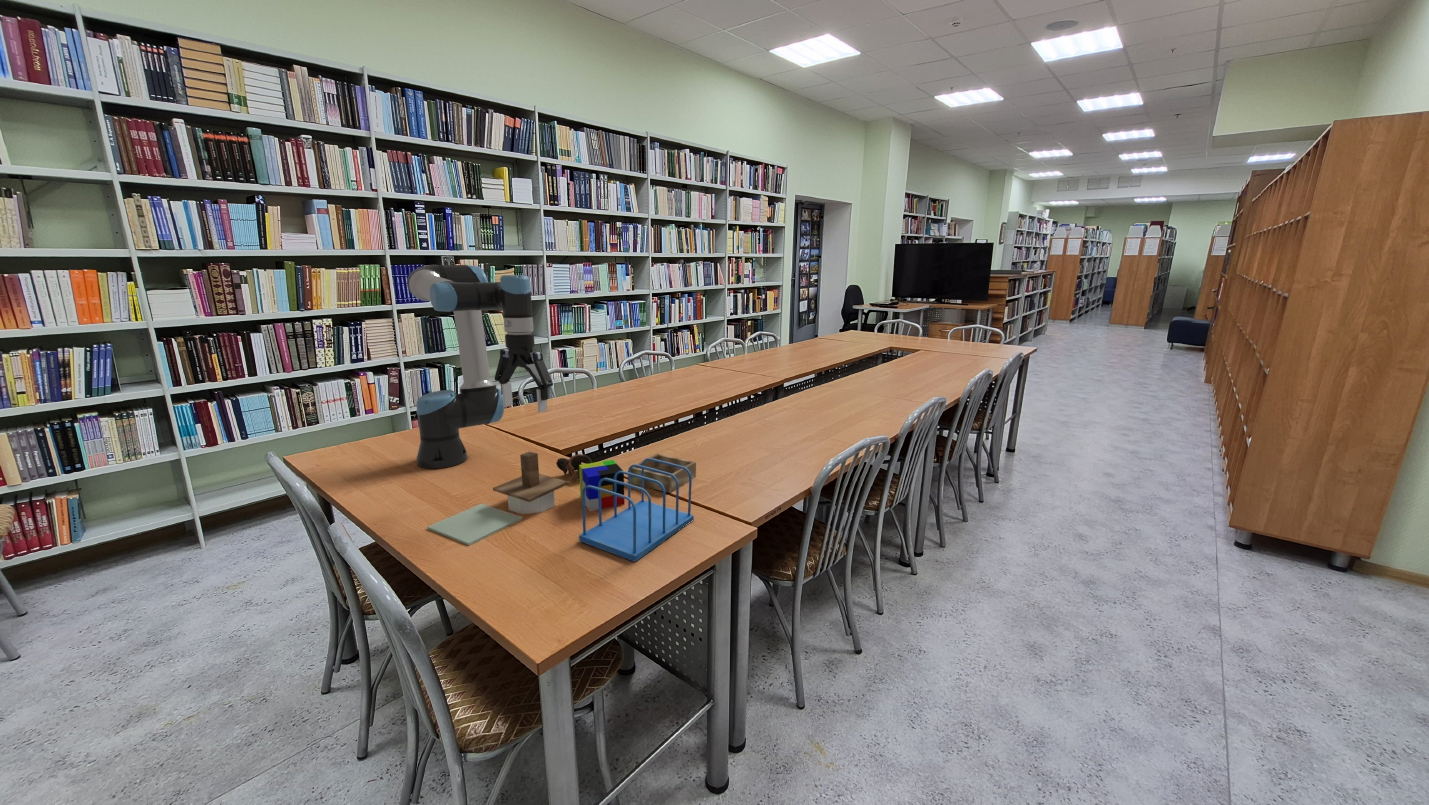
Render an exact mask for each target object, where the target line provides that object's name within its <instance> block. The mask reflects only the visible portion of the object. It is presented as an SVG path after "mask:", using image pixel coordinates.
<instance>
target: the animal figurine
mask: <svg viewBox="0 0 1429 805" xmlns="http://www.w3.org/2000/svg"><path fill="white" fill-rule="evenodd" d="M585 460H587V461H588V464H589V463H593V460H592V458H591V457H590V456H588V455H586V454H583V453H582V454H581V453H580V454H579V453H578V454H574V455H572V456H571V457H570V458H568V459H567V458H565V457H561V458H558V459H557V460H556V464H555V465H556V467H557V468H558V469H559V470H561V472H563V474H564V475H567V473H568V474H571V477H570V480H571V482H574V483H576V482H577V481H578V480H579V481H580V475H579V465H582V464H583V463H582V462H583V461H585Z"/></svg>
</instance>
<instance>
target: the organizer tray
mask: <svg viewBox="0 0 1429 805" xmlns="http://www.w3.org/2000/svg"><path fill="white" fill-rule="evenodd" d="M648 458H652V459H657V460H661V461H665V462H669V463H673V464H676V465H680V466H684V467H686V468H687V469H688V470H689V471H690V473H691V476H692V480H693V479H695V478H696V477H697V462H696V461H691V460H689V459H684V458H683V459H682V458H678V457H674V456H669V455H666V454H660V453H656V454H654V455H651V456H650V457H648ZM644 460H645V459H643V460H641V461H639V462H638V463H636V464H637V465H641V466H642V462H643V461H644ZM644 466H645V467H649V468H653V469H657V470H661V471H664V472H668V473H671V474H673V475H674V476H675V477H676V478H677V480H678V483H679V488H680V487H682V486H683V485H685V484H687V483H689V474H688V472H687V471H686V470H684V469H682V468H678V467H675V466H671V465H667V464H663V463H659V462H655V461H651V460H647V461H645V463H644ZM630 473H633V474H636V475H640V476H642V468H639V467H632V468H631V470H630ZM644 477H647V478H651V479H654V480H657V481H659V482H661V483H662V484H663V486H664V488H665V491H666V494H667V493H668V494H670V493H673V492H674V491H676V482H675V480H674V478H673V477H671V476H669V475H666V474H662V473H659V472H655V471H651V470H647V469H644ZM630 484H632V485H636V486H641V487H642V479H641V478H638V477H634V476H630ZM644 488H649V489H652V490H657V491H660V492H663V490H662V487H661V486H660V485H659V484H657V483H655V482H652V481H648V480H645V479H644Z"/></svg>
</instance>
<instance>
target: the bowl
mask: <svg viewBox="0 0 1429 805" xmlns="http://www.w3.org/2000/svg"><path fill="white" fill-rule="evenodd" d="M555 496H556V495H555V491H552V492H550V493H548V494H546V495H544V496H542V497H540V498H537V499H535V500H533V501H531V502H527V501H524V500H521V499H518V498H515V497H512V496H508V495H507V502H508V503H507V504H508V511H511V512H513V513H517V514H520V515H528V514H536V513H537V514H538V513H539V514H540V513H543V512H544V511H546V510H548V509H551V508H553V507H555V504H556V503H555V502H556V501H555V500H556V499H555Z"/></svg>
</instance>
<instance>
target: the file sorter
mask: <svg viewBox="0 0 1429 805" xmlns="http://www.w3.org/2000/svg"><path fill="white" fill-rule="evenodd" d="M643 460H644V461H643ZM643 460H642V461H643V462H642V466H641V465H637V463H635V464H634V463H633V464H632V465H630V466H629V467H628V469H627V471H624V470H623V471H618V472H617V473H616V474H615V476H614V480H613V479H609V478H603V479H601V480H600V481H599V484H598V487H595V486H591V485H589V486H586V487H584V489H583V491H582V499H581V509H582V533H580V534H579V536H578V538H579V540H578V541H579V542H582V543H584V544H585V545H589V546H592V547H595V548H597V549H599V550H603V551H605V552H607V553H610V554H613V555H616V556H619V557H622V558H624V559H626V560H630V561H632V562H637V561H639V560H640V559H641V558H642V557H644V556H646V555H647V554H648V553H650V552H651V551H653V550H654V549H655V548H657V547H658V546H660V545H661V544H662V543H664V542H665V541H666V539H667V538H668V537H669V538H671V537H672V536H673V534H674V533H675V532H677V531H678V530H679V529H681V528H682V527H683V526H685V525H686V524H688V523H689V522H691V521H692V520H693V521H694V519H695V518H694V514H691V512H692V511H691V508H692V507H691V504H692V503H691V502H692V481H693V479H692V476H691V473H690V471H689V470H688V469H687V468H686V467H684V466H680V465H676V464H673V463H669V462H665V461H661V460H657V459H652V458H649V457H647V458H645V459H643ZM647 460H651V461H655V462H659V463H663V464H667V465H671V466H675V467H678V468H682V469H684V470H686V471H687V472H688V474H689V481H688V501H687V503H688V505H687V506H688V507H687V512H685V511H682V510H679V502H680V501H679V500H680V499H679V498H680V497H679V496H680V494H679V493H680V490H679V489H680V487H679V483H678V480H677V478H676V477H675V476H674V475H673V473H672V472H668V471H663V470H659V469H658V470H657V469H653V468H649V467H645V466H644V463H645V461H647ZM632 467H639V468H642V476H640V475H636V474H633V473H630V470H631V468H632ZM644 469H647V470H651V471H654V472H656V473H660V474H664V475H668V476H671V477H673V478H674V480H675V482H676V490H675V492H676V494H675V508H671V507H668V506H666V505H667V504H666V503H667V502H666V501H667V499H666V497H667V496H666V495H667V492H666V491H665V488H664V486H663V484H662V483H661V482H659V481H657V480H654V479H651V478H647V477H644ZM619 473H622V474H624V475H627V482H625V481H624V482H620V481H617V480H616V478H617V475H618V474H619ZM630 476H634V477H638V478H641V479H642V486H641V487H640V486H638V485H635V484H632V483H630ZM644 479H645V480H648V481H652V482H655V483H657V484H659V485H660V486H661V487H662V490H663V491H662V505H661V504H658V503H655V502H652V498H651V496H650V493H649V492H648V491H647V490H646V489H645V487H644ZM604 480H606V481H610V482H614V492H612V491H608V490H605V489H602V488H601V483H602V481H604ZM616 483H617V484H621V485H624V487H627V495H625V494H624V495H621V494H618V493H616V489H617V487H616ZM587 488H592V489H595V490H598V503H599V509H598V524H597V525H594V526H593V527H591V528H590V529H588V530H587V527H586V526H587V525H586V524H587V523H586V505H585V490H586V489H587ZM631 488H632V489H634V490H639V491H641V495H640V496H641V497H640V499H641V500H640V501H637V502H634V501H633V499H632V498H631ZM601 491H602V492H605V493H609V494H612V495H614V506H613V512H614V513H613V515H612V516H611V517H609V518H608V519H606V520H604V521H602V519H603V517H602V509H601ZM645 495H646V497H647V500H645ZM616 496H618V497H621V498H624V500H627V504H628V505H627V507H626V508H625V509H623V510H621V511H619V512H617V511H618V510H617V509H618V508H617V497H616ZM693 521H692V522H693ZM692 522H691V523H692ZM689 524H690V523H689ZM689 524H688V525H689ZM686 526H687V525H686ZM686 526H685V527H686ZM682 529H683V528H682ZM682 529H681V530H682ZM679 531H680V530H679ZM679 531H678V532H679ZM678 532H677V533H678ZM675 534H676V533H675ZM675 534H674V535H675ZM671 535H672V536H671ZM670 536H671V537H670ZM669 538H668V539H669ZM668 539H667V540H668ZM663 541H664V542H663ZM656 546H657V547H656ZM649 551H650V552H649Z"/></svg>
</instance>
